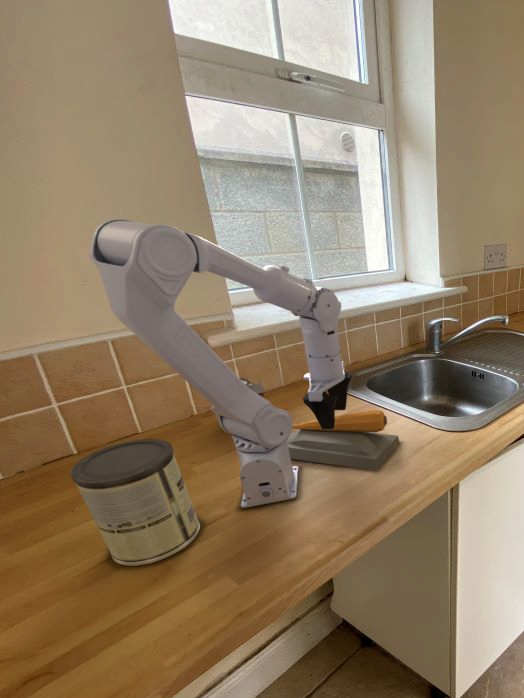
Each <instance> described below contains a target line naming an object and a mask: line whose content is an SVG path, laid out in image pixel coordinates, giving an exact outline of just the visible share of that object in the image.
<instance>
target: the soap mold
mask: <svg viewBox="0 0 524 698" xmlns="http://www.w3.org/2000/svg"><path fill="white" fill-rule="evenodd" d="M287 444H288V449H289V453H290V458H291V459H293V460H298V461H305V462H311V463H320V464H326V465H333V466H340V467H347V468H354V469H361V470H362V469H363V470H369V471H378V470H379V469H380V467H381V466H382V465H383V463H385V462H386V460H387V459H388V457H389V456H390V455H391V454H392V453H393V451H394V450H395V449H396V448H397V447H398V446H399V444H400V438H399V435H397V434H390V433H389V434H388V433H381V432H352V431H321V430H303V429H295V431H293V432H291V433H290V435H289V437H288V441H287Z"/></svg>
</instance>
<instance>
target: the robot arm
mask: <svg viewBox="0 0 524 698" xmlns="http://www.w3.org/2000/svg"><path fill="white" fill-rule="evenodd" d="M91 239H92V240H91V244H90V248H89V253H88V257H89V259H90V260H91V261H92V263H93V265H94V266H95V267H96V268H97V269H98V271H99V274H100V278H101V281H102V285H103V287H104V291H105V294H106V296H107V299H108V302H109V306H110V309H111V312H112V313H113V315H114V316H115V317H116V319H117V320H118V321H119V322H121V324H122V325H124V326H125V327H126V328H127V329H128V330H129V331H130V332H132V333H133V334H134V336H136V337H137V338H138V339H139V340H140V341H142V342H143V344H144V345H146V346H147V347H148V348H149V349H150V350H151V351H152V352H153V353H154V354H156V355H157V356H158V357H159V358H160V359H161V360H162V361H163V362H165V363H166V364H167V365H168V366H169V367H170V368H171V369H172V370H173V371H175V372H176V373H177V374H178V375H179V376H180V377H181V378H182V379H184V381H185V382H187V383H188V384H189V385H190V386H191V387H192V388H193V389H194V390H195V391H197V393H199V394H200V395H201V396H202V397H203V398H204V399H205V400H206V401H208V402H209V403H210V404H211V405H212V406H211V407H210V410H211V412H212V413H213V414H214V415H215V416H216V417H217V419H218V423H219V426H220V428H221V430H222V431H223V432H225V433H227V434H229V435H231V437H232V441H233V443H234V446H235V449H236V453H237V457H238V460H239V463H240V470H239V480H240V482H241V486H242V489H243V494H242V497H241V501H240V508H242V509H246V508H251V507H257V506H263V505H267V504H272V503H277V502H282V501H283V502H284V501H288V500H294V499H296V498H297V494H298V482H299V470H300V469H299V466H297V465H295V466H293V462H292V460H291V458H290V453H289V449H288V444H287V441H288V437H289V436H290V435H291V434H292V430H293V429H292V426H293V425H294V424H293V423H294V422H293V417H292V415H290V413H289V412H288V411H287V410H285V409H281V408H277V407H276V406H274V405H273V404H272V403H271V402H270V401H269V400H267V399H266V398H265V397H264V398H263V397H261V396H259V395H258V394H256V393H254V392H253V391H251V390H250V389H249V388H248V387H247V386H246V385H245V384H244V383H243V382H242V380H241V379H240V378H241V377H239V376H238V375H237V374H236V373H235V372H234V371H233V370H232V369H231V368H230V367H229V366H228V365H227V363H226V362H224V361H223V359H222V358H221V357H220V356H219V355H218V354H217V353H216V352H215V351H214V350H213V349H212V348H211V347H210V346H209V345H208V344H207V342H205V341H204V339H202V338H201V336H200V335H199V334H198V333H197V332H196V331H195V330H194V329H193V328H192V326H190V325H189V324H188V323H187V322H186V321H185V320H184V319H183V317H181V316H180V314H178V312H176V310H175V305H176V301H177V299H178V297H179V295H180V293H181V292H182V290H183V289H184V287H185V285H186V284H187V282H188V281H189V279H190V277H191V275H192V274H193V273H198V274H201V273H204V272H209V273H212V274H214V275H217V276H220V277H222V278H225V279H227V280H231V281H233V282H235V283H239V284H241V285H244V286H247V287H249V288H252V291H253V293H254V295H255V296H256V298H257V299H259V300H260V301H262V302H265V303H267V304H269V305H272V306H276V307H278V308H281V309H283V310H286V311H289V312H290V313H291V314H292V315H293V316H295V317H298V320H299V324H300V330H301V335H302V341H303V346H304V352H305V357H306V362H307V368H308V372H307V373H305V374H304V375H303V380H304V381H308V382H309V388H308V390H307V393H305V395H304V396H303V397H302V401H303V404H304V405H305V406H307V408H308V409H310V411H311V412H312V413H313V415H314V417H315V419H316V420H318V422H319V424H320V426H321V428H322V429H333V428H334V425H335V417H336V411H346V410H347V403H348V392H349V387H350V383H351V381H352V378H353V375H352V373H350V372H345V371H346V367H345V361H343V360H342V355H341V347H340V341H339V334H338V327H339V316H340V314H341V311H342V302H341V301H340V300H339V298H338V296H337V295H336V294H335V292H334V291H333V290H332V289H330V288H326V287H321V286H317V285H315V284H313V282H314V281H313V280H312V279H310V278H306V277H303V278H302V277H299V276H297V275H296V274H293V273H291V272H290V267H287V266H285V265H283V264H276V265H273V264H269V265H265V266H262V267H260V266H258V265H256V264H254V263H252V262H251V261H248V260H246V259H244V258H242V257H240V256H239V255H237V254H234V253H232V252H231V251H228V250H227V249H225V248H223V247H221V246H219V245H217V244H215V243H213V242H212V241H209V240H207V239H205V238H203V237H201V236H199V235H196V234H193V233H190V232H185V231H182V230H181V229H179V228H177V227H175V226H173V225H168V224H164V223H163V224H162V223H159V224H158V223H157V224H153V223H152V224H151V223H144V222H136V221H132V220H129V219H124V218H113V219H108V220H106V221H104V222H102V223H100V224H99V225H98V226H97V227H96V229H95V230H94V232H93V234H92V238H91Z"/></svg>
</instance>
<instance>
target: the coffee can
mask: <svg viewBox="0 0 524 698" xmlns="http://www.w3.org/2000/svg"><path fill="white" fill-rule="evenodd" d="M174 452H175V451H174V448H173V445H172V444H171V442H169V441H167V440H163V439H159V438H157V439H156V438H145V439H144V438H143V439H134V440H129V441H124V442H120V443H116V444H113V445H109V446H107V447H104V448H102V449H99V450H96V451H95V452H92V453H90V454H89V455H87V456H85V457H83V458H82V459H81V460H78V461H77V462H76V464H75V465H73V467H72V468H71V470H70V475H69V476H70V477H71V479H72V481H73V482H74V483H75V484H76V487H77V489H78V491H79V493H80V495H81V497H82V498H83V501H84V503H85V504H86V507H87V508H88V511H89V512H90V515H91V516H92V518H93V520H94V522H95V525H96V526H97V528H98V531H99V532H100V534H101V536H102V539H103V540H104V542H105V544H106V547H107V548H108V550H109V552H110V554H111V559H112V560H113V561H114V562H115V563H117V564H118V565H122V566H129V567H137V566H138V567H139V566H142V565H149V564H152V563H155V562H159V561H161V560H164V559H167V558H168V557H171V556H173V555H174V554H176V553H178V552H180V551H182V550H184V549H185V548H186V547H188V546H189V545H190V544H191V543H192V542H193V541H194V540H195V539H196V538H197V536H198V534H199V532H200V529H201V523H200V520H199V519H198V516H197V514H196V512H195V509H194V506H193V503H192V500H191V497H190V495H189V492H188V489H187V487H186V484H185V480H184V478H183V476H182V473H181V471H180V468H179V464H178V462H177V459H176V456H175V453H174Z"/></svg>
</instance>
